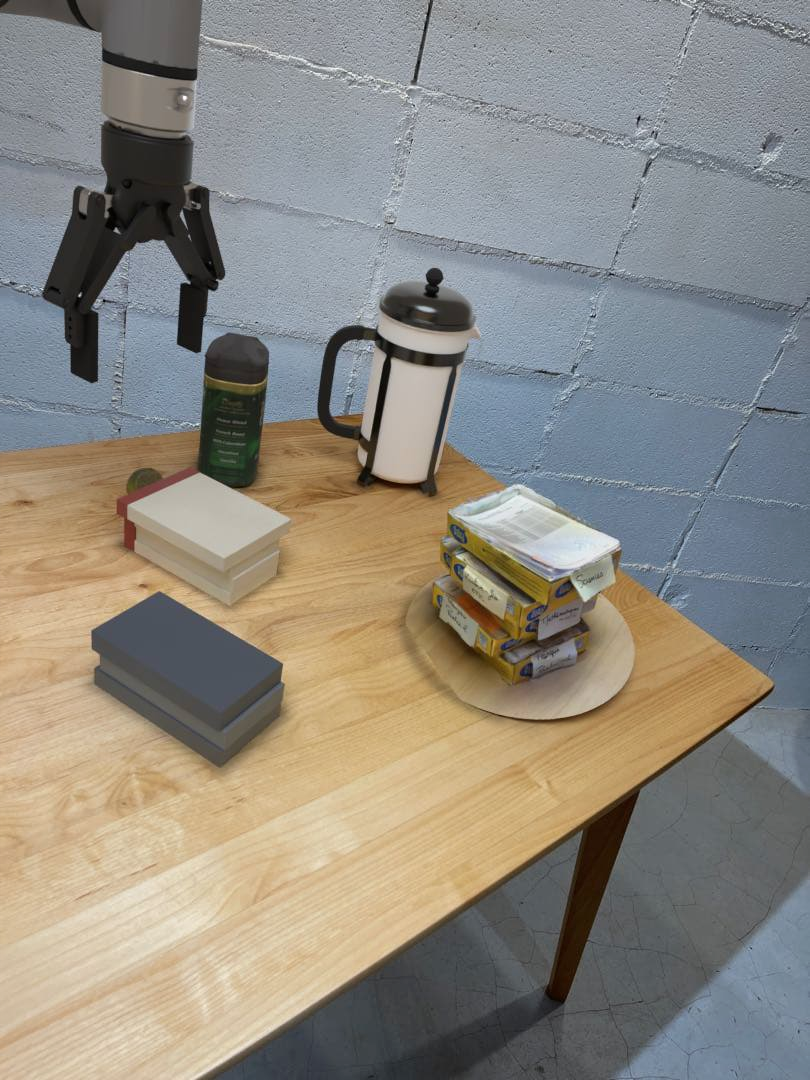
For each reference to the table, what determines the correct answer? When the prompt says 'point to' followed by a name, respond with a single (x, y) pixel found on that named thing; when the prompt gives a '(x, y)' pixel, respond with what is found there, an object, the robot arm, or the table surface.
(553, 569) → the paper stack
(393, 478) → the coffee press
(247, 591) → the white stack
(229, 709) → the grey stack
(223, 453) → the coffee jar
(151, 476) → the lime
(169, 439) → the table surface
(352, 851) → the table surface
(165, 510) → the white book
